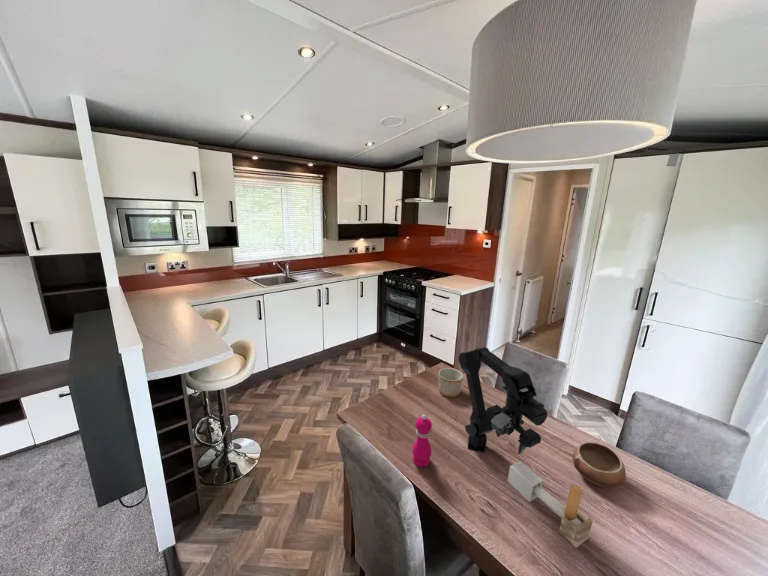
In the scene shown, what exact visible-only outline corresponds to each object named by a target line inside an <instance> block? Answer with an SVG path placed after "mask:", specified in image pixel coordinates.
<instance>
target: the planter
mask: <svg viewBox="0 0 768 576" xmlns="http://www.w3.org/2000/svg"><path fill="white" fill-rule="evenodd" d="M463 379H464V374H463V372H461V371H460V370H458V369H455V368H452V367H448V368H446V367H445V368H441V369H440V370H439V371H438V391H439V393H440V394H441V395H443V396H444V397H447V398H456V397H458V396H460V394H461V390H462V385H463Z"/></svg>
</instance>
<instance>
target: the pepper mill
mask: <svg viewBox="0 0 768 576" xmlns="http://www.w3.org/2000/svg"><path fill="white" fill-rule="evenodd" d="M415 429H416V431H415V433H416V435H417V438H416V440H415V442H414V443H413V446H412V451H411V452H412V461H413V463H414V464H415V465H416V466H417V467H419V468H420V467H421V468H423V467H427V466H428V465H429V464H430V457H431V456H432V447H431V444H430V442H429V437H430V435H431V430H432V421H431V420H430V418H429V417H427V415H426V414H422V415H421V416H419V417H418V418H417V419H416V420H415Z"/></svg>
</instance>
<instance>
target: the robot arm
mask: <svg viewBox="0 0 768 576" xmlns="http://www.w3.org/2000/svg"><path fill="white" fill-rule="evenodd" d="M458 363H459V365H460V366H459V367H460V369H461V370H462V371H463V372H464V374H465V377H466V380H467V386H468V392H469V393H468V394H469V397H470V398H469V399H470V402H471V408H472V411H471V414H470V417H469V421H470V424H467V425H465V426H464V428H465V432H466V433H467V434H468V438H467V449H470V450H472V451H473V450H474V451H477V452H482V453H484V452H485V451H486V450H485V448H487V442H488V441H487V440H488V437H487V436H488V435H487V434H490V433H491V432H493V430H494V431H495V435H496V438H499V437H501V436H504V435H507V436H510V435H511V434H512V433H514V431H516V432H518V434H519V435H518V437H519V438H518V440H517V442H519V446H518V452H517V454H518V455H521V454H523V453H524V451H525V450H526V449H527V448H532V447H534V446H536V445H539V444H540V443H541V441H542V435H540V434H539V433H538V432H537V431H535V430H533V429H532V428H528V429H526V428H524V427H523V426H522V425H523V424H524V422H525V421H524V420H523V417H525V418H526V419H527V420H529V421H530V422H531V423H533V424H534V425H535V426H541V425H543V424H544V423H545V421H547V418H548V415H549V414H548V411H547V409H546V408H545V404H543V403H542V402H541V401H538V400H536V399H535V398H534V397H537V393H536V392H537V391H536V389H535V386H534V384H533V381H532V378H531V376H530V373H528V372H527V371H525V370H523V369H521V368H519V367H515V366H511V365H510V364H508V363H507V362H505V361H504V360H503V359H501V358H500V357H498V356H497V355H496V354H494V353H493V352H491V350H490V349H489V348H488V347H485V346H483V347H482V346H481V347H478V348H475V349H473V350H469V351H468V350H467V351H464V352H461V353H459V355H458ZM482 363H483V364H484V365H486V366H487V367H488V368H489V369H490V370H492V371H493V372H494V373H496V374H497V375H498V376H499V377H500V379H501V381H502V383H503V384H504V386H502V389H503V390H504V391H506V399H505V404H504V405H505V406H503V407H501V406H500V405H498V404H494V405H492V406H490V407H487V408H486V405H485V401H484V395H483V390H482V383H481V379H480V373H479V372H480V371H481V370H480V369H481V367H482ZM522 390H525V391H522Z"/></svg>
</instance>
